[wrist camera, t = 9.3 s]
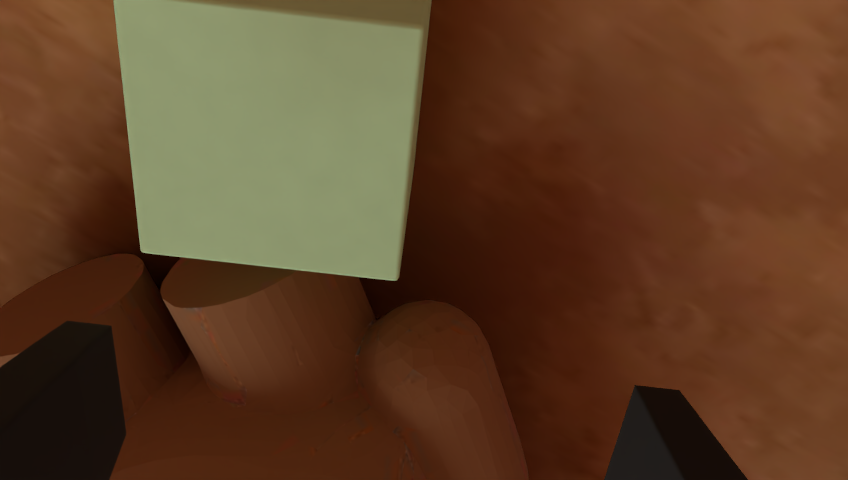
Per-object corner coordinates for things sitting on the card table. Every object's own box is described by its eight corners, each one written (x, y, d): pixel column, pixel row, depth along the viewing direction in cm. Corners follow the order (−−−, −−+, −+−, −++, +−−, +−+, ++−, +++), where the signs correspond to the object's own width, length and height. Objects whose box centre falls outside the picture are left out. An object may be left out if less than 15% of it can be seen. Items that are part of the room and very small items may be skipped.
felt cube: (436, -42, 17) (425, 25, 12) (413, 168, 19) (398, 283, 15) (202, -69, 16) (109, -11, 12) (212, 145, 19) (139, 254, 15)
